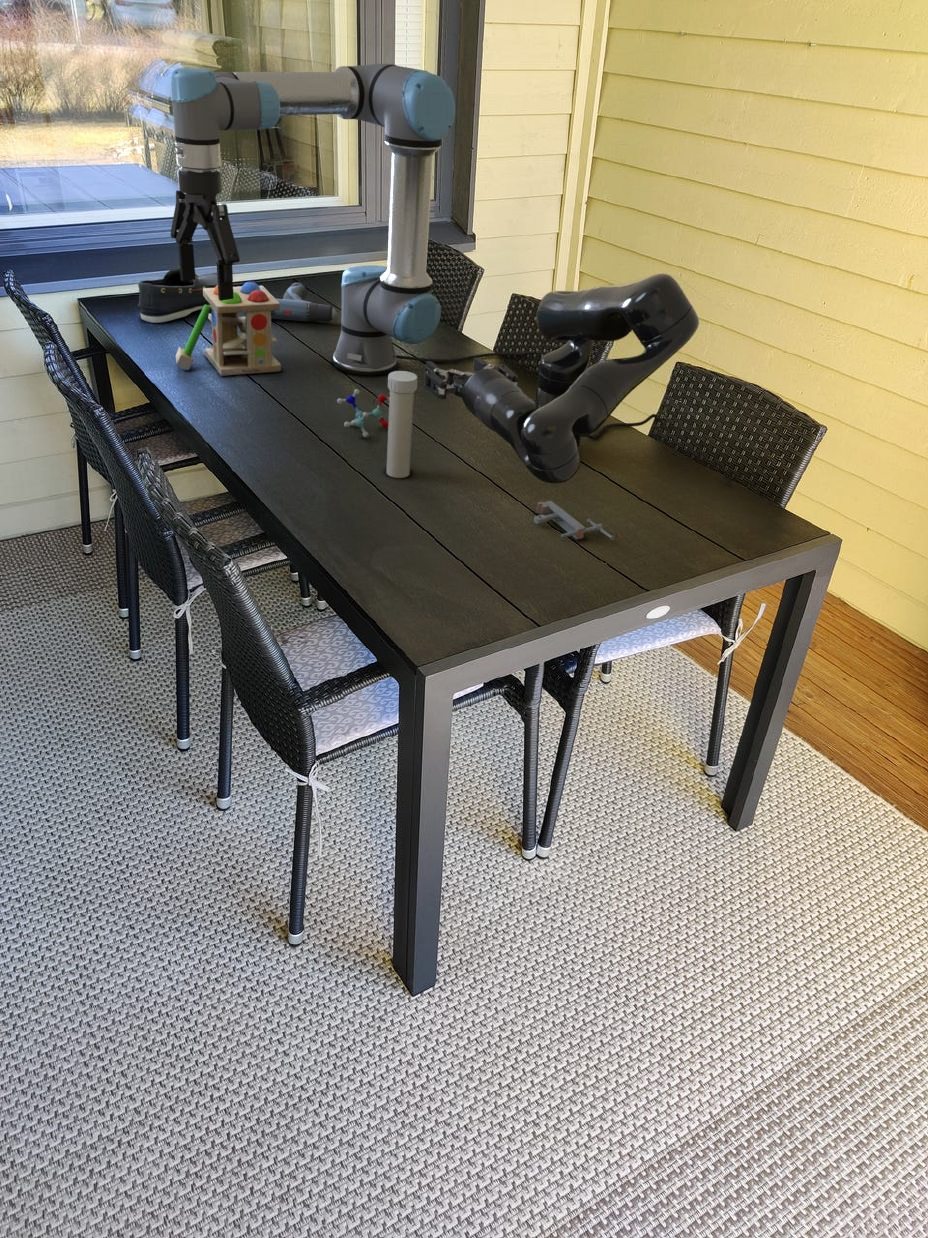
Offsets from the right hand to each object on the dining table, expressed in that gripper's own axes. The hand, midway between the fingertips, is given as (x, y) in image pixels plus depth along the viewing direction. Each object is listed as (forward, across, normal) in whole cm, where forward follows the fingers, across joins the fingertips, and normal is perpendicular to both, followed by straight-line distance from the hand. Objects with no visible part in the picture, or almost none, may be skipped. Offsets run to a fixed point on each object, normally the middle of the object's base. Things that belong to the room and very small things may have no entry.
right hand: (452, 365), depth 160 cm
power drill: (+118, +13, -28) cm, 122 cm away
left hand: (+50, -28, -1) cm, 57 cm away
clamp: (-10, +21, -29) cm, 37 cm away
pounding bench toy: (+84, -17, -29) cm, 91 cm away
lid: (+20, 0, -10) cm, 22 cm away
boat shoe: (+128, -16, -28) cm, 133 cm away
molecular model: (+42, +1, -29) cm, 51 cm away
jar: (+20, 0, -29) cm, 35 cm away
